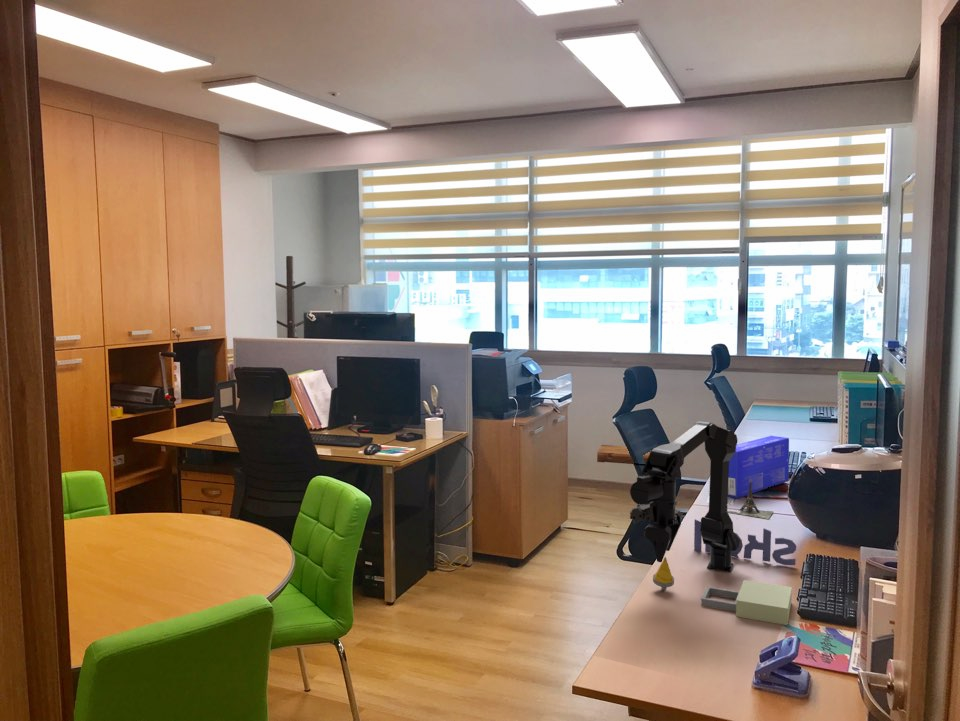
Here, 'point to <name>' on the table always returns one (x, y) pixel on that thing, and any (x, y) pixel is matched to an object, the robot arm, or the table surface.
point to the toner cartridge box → (758, 465)
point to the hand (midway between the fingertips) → (663, 556)
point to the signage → (753, 546)
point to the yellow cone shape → (663, 576)
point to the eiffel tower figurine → (751, 505)
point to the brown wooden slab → (616, 454)
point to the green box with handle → (754, 601)
